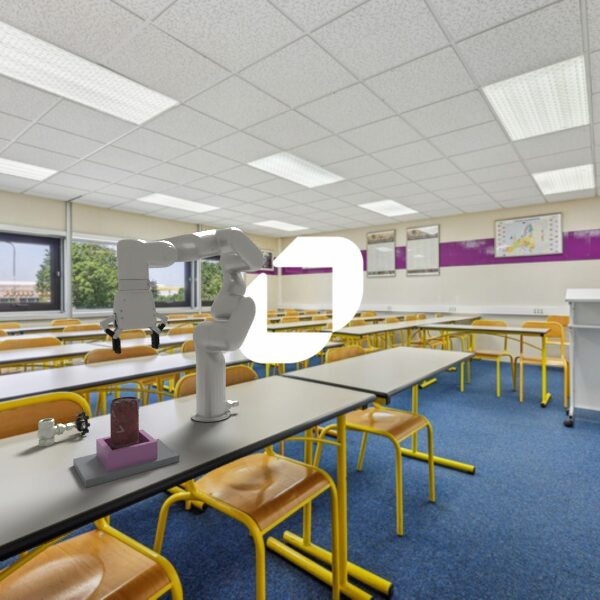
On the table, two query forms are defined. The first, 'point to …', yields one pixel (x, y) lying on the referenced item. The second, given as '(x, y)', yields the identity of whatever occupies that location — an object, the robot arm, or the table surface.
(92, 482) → the cup holder
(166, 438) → the table surface
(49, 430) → the valve
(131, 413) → the can
